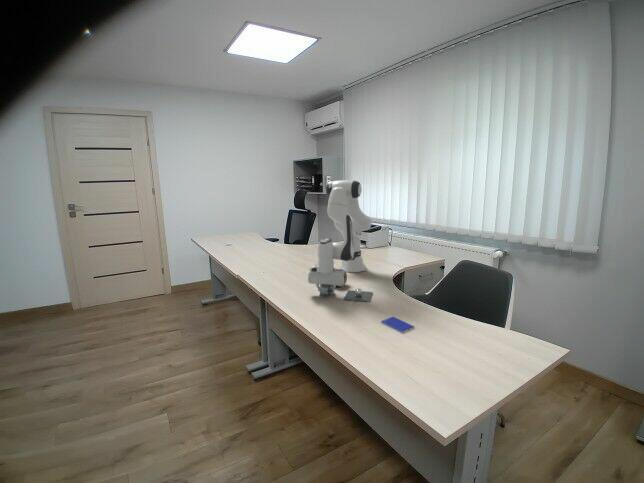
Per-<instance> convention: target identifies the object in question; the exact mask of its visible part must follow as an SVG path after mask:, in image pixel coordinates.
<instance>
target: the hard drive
mask: <svg viewBox="0 0 644 483" xmlns="http://www.w3.org/2000/svg"><path fill="white" fill-rule="evenodd" d="M380 324H382V325H383V326H386V327H388V328H390V329H391V330H394V331H396V332H398V333H400V334H404V333H406V332H409V331H411V330H413V329H415V328H416V327H415V326H414V325H412V324H410V323H408V322H405V321H403V320H401V319H399V318H397V317H395V316H391V317H388V318H386V319H385V318H384V319H383V320H381V321H380Z"/></svg>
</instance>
